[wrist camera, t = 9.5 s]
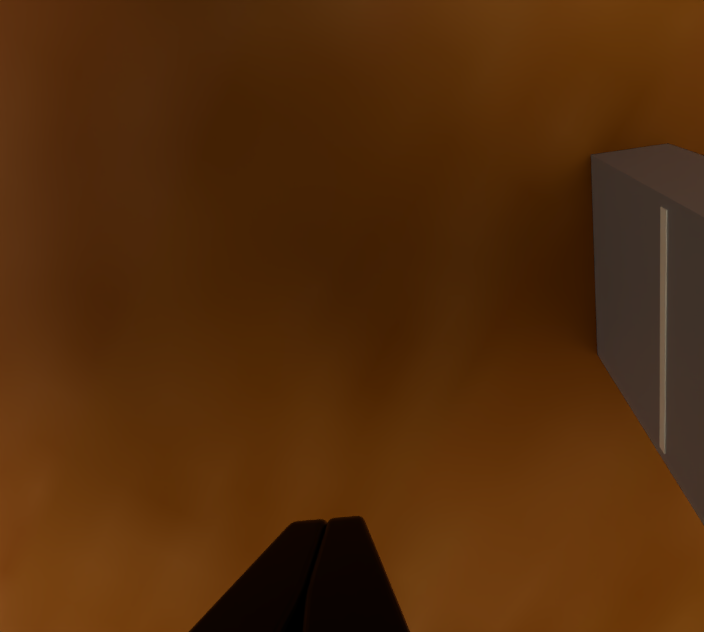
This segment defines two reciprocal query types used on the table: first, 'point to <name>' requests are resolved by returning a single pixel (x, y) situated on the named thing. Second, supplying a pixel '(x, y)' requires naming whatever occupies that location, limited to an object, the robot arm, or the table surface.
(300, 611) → the robot arm
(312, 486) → the table surface
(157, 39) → the table surface
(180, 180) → the table surface
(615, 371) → the grey domino block
